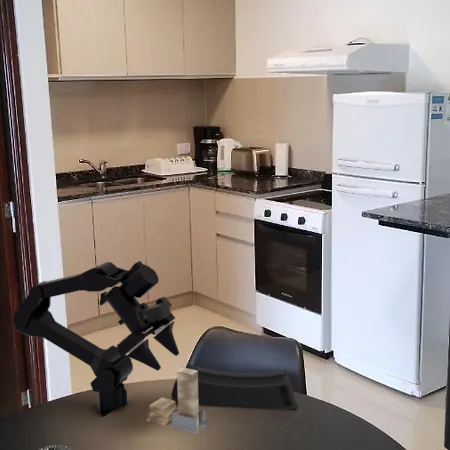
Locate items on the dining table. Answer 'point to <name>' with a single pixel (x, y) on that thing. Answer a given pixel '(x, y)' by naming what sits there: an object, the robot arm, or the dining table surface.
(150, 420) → the offcut stack
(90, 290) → the robot arm
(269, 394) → the black curved panel
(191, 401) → the beige rectangular block
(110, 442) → the dining table surface
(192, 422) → the rack
